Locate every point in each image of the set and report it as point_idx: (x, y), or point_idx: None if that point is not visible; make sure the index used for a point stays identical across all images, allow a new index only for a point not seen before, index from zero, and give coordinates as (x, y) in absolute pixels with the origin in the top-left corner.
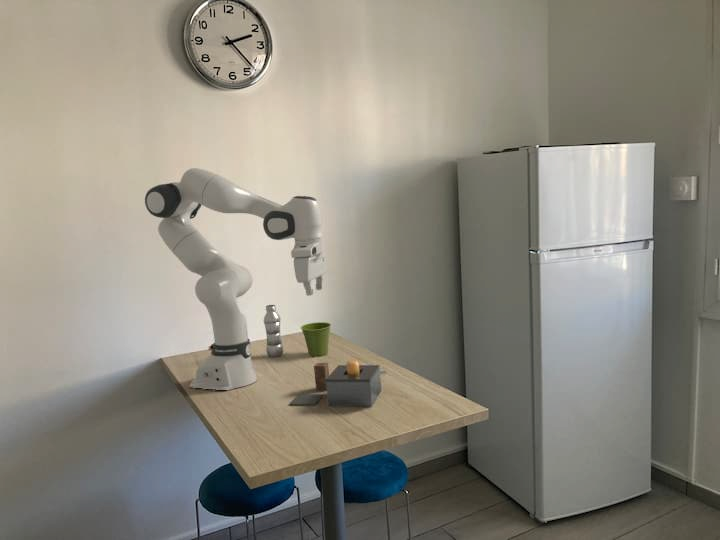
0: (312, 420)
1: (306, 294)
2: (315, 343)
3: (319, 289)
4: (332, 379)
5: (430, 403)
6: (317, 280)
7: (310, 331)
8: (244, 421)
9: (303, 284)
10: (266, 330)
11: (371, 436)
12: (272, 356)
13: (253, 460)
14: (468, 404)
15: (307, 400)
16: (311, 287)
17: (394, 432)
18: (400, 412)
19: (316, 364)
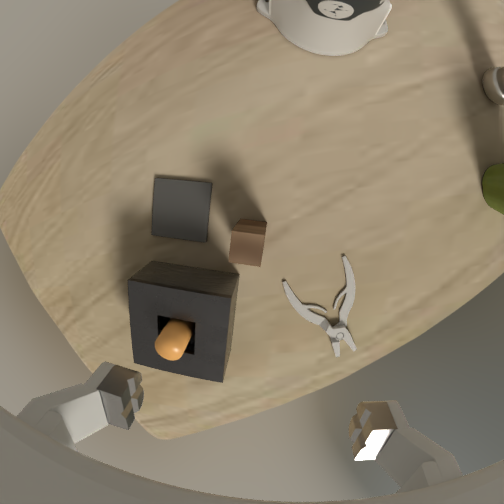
0: (95, 243)
1: (102, 364)
2: (498, 188)
3: (351, 420)
4: (128, 294)
5: (173, 405)
6: (412, 457)
7: None
8: (93, 119)
9: (29, 403)
10: None
11: (67, 329)
12: (482, 81)
13: (8, 195)
14: (174, 435)
15: (170, 214)
16: (94, 432)
17: (82, 354)
18: (137, 369)
19: (247, 235)
